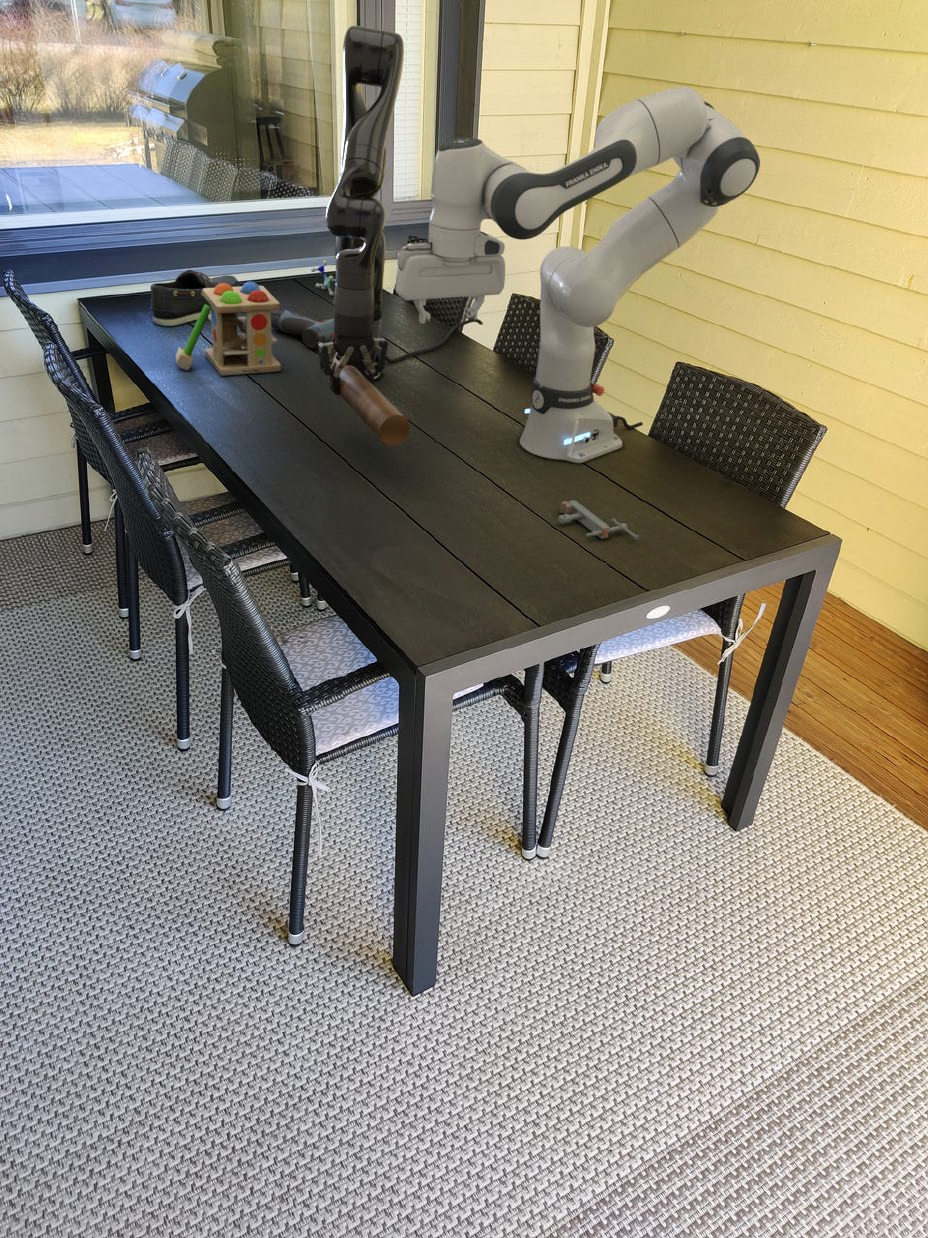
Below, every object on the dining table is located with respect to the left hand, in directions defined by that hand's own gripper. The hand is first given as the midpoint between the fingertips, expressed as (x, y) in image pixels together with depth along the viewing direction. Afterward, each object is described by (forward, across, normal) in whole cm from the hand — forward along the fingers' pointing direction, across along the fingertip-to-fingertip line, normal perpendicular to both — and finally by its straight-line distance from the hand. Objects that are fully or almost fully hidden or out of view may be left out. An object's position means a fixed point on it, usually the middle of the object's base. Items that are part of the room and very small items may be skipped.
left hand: (352, 391), depth 196 cm
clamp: (+10, +28, -48) cm, 57 cm away
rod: (+2, 0, -9) cm, 9 cm away
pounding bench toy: (+11, -13, +47) cm, 50 cm away
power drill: (+12, +14, +64) cm, 67 cm away
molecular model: (+12, +32, +98) cm, 104 cm away
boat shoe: (+12, -9, +89) cm, 90 cm away
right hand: (-19, +11, -17) cm, 28 cm away
